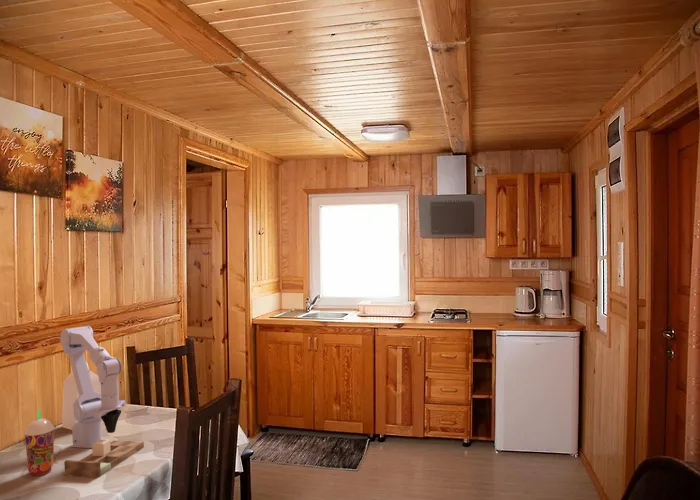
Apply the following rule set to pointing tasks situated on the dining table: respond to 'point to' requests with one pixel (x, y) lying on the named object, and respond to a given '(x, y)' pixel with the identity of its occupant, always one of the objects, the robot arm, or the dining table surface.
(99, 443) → the block
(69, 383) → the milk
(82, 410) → the robot arm
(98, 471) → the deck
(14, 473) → the dining table surface
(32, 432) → the smoothie
